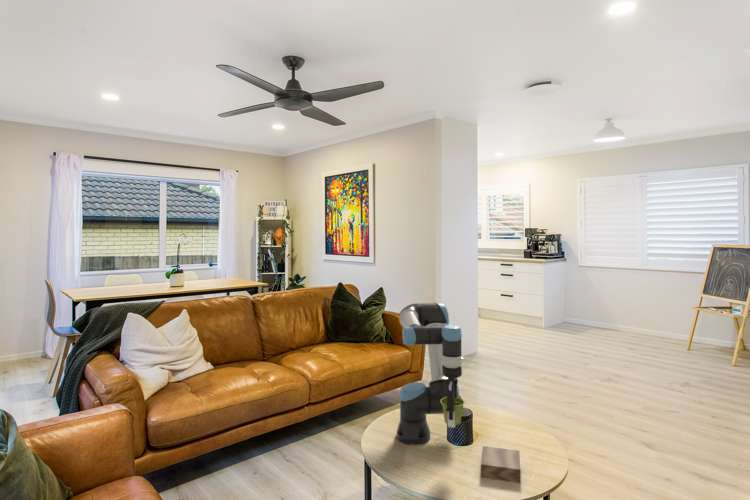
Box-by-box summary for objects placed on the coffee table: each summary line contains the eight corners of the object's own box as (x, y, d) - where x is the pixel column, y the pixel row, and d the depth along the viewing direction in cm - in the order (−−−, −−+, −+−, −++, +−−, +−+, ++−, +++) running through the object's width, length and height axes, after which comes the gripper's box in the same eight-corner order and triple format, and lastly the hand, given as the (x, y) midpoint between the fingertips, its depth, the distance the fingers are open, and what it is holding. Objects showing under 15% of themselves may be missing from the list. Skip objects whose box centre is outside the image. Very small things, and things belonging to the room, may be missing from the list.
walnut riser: (480, 477, 158) (480, 464, 158) (482, 458, 172) (482, 446, 172) (520, 483, 154) (520, 469, 154) (519, 463, 168) (519, 450, 167)
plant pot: (464, 428, 162) (464, 406, 162) (440, 427, 164) (439, 405, 164) (464, 418, 172) (464, 397, 171) (441, 416, 174) (440, 395, 173)
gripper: (458, 374, 156) (459, 435, 157) (464, 358, 176) (464, 412, 177) (438, 373, 158) (439, 433, 159) (446, 357, 178) (446, 410, 179)
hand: (452, 421), depth 168 cm, fingers closed on plant pot, 8 cm apart
